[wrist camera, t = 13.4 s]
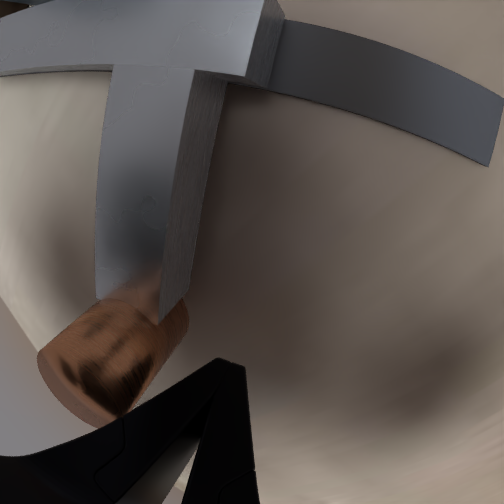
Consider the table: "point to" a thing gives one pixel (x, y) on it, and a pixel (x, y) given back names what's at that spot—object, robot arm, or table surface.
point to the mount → (377, 86)
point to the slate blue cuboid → (30, 1)
